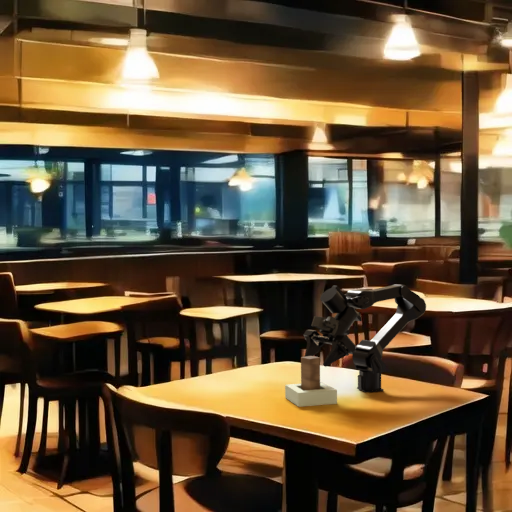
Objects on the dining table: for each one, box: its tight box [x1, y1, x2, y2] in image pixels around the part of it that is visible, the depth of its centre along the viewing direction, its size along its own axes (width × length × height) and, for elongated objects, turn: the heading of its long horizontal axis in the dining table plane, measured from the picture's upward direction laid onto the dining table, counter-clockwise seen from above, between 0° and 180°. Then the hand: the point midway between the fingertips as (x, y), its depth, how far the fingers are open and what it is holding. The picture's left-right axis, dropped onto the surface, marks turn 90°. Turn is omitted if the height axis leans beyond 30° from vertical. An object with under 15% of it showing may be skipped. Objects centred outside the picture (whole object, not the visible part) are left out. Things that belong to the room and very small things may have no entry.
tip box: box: [284, 381, 338, 408], centre depth 221 cm, size 12×12×4 cm
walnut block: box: [300, 355, 321, 391], centre depth 220 cm, size 4×4×12 cm
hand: (314, 363), depth 221 cm, fingers open, 9 cm apart
